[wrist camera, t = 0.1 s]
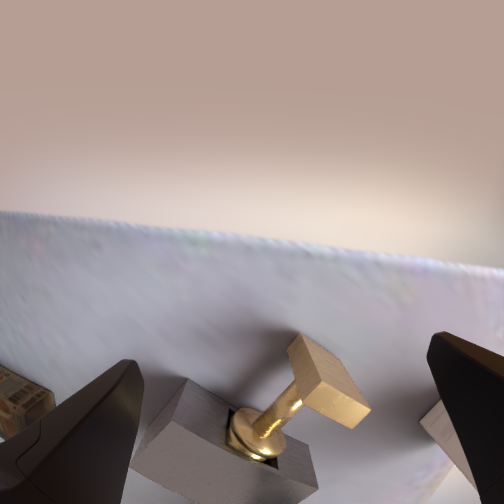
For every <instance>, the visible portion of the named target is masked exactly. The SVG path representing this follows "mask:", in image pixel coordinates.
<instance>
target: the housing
mask: <svg viewBox="0 0 504 504" xmlns="http://www.w3.org/2000/svg"><path fill="white" fill-rule="evenodd" d="M237 411H238V409H237V408H235V407H233V406H231V405H230V404H228V403H226V402H225V401H223V400H221V399H220V398H218V397H217V396H215V395H213V394H212V393H210V392H208V391H207V390H205V389H204V388H202V387H201V386H199V385H198V384H196V383H194V382H193V381H191V380H190V379H188V380H187V381H186V382H185V383H184V384H183V386H182V387H181V388H180V389H179V390H178V392H177V393H176V394H175V395H174V396H173V398H172V399H171V400H170V401H169V402H168V404H167V405H166V406H165V407H164V408H163V410H162V411H161V412H160V413H159V414H158V416H157V417H156V418H155V419H154V420H153V422H152V423H151V424H150V425H149V426H148V428H147V430H146V432H145V434H144V436H143V438H142V440H141V442H140V444H139V446H138V448H137V451H136V453H135V455H134V457H133V459H132V461H131V463H130V465H129V467H130V468H131V469H133V470H135V471H136V472H138V473H140V474H142V475H143V476H145V477H147V478H149V479H150V480H152V481H154V482H156V483H158V484H160V485H162V486H163V487H165V488H167V489H169V490H171V491H173V492H175V493H177V494H180V495H182V496H184V497H186V498H188V499H190V500H193V501H195V502H197V503H199V504H298V503H299V502H301V501H302V500H304V499H305V498H307V497H308V496H310V495H311V494H312V493H314V492H315V491H317V490H318V489H319V488H318V484H317V480H316V475H315V471H314V467H313V463H312V459H311V455H310V451H309V447H308V445H306V444H304V443H302V442H300V441H298V440H296V439H293V438H291V437H289V436H287V435H285V434H284V436H285V439H286V448H285V450H284V451H283V452H281V453H280V454H279V455H278V456H277V457H275V458H267V459H266V460H265V461H263V462H262V463H261V462H259V461H257V460H255V459H252V458H250V457H248V456H246V455H244V454H242V453H240V452H238V451H236V450H234V449H232V448H230V447H228V446H226V445H224V443H225V435H226V428H228V427H229V426H230V420H231V418H232V416H233V415H234V414H235V413H236V412H237Z"/></svg>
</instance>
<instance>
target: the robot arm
mask: <svg viewBox="0 0 504 504" xmlns="http://www.w3.org/2000/svg"><path fill="white" fill-rule="evenodd" d="M427 362H428V365H429V367H430V370H431V373H432V375H433V378H434V381H435V384H436V387H437V389H438V392H439V395H440V398H441V400H442V402H443V405H444V407H445V409H446V411H447V413H448V416H449V418H450V420H451V422H452V425H453V427H454V429H455V432H456V434H457V436H458V439H459V441H460V444H461V446H462V449H463V451H464V454H465V456H466V459H467V462H468V464H469V467H470V470H471V473H472V475H473V478H474V481H475V484H476V487H477V490H478V493H479V496H480V500H481V503H482V504H504V357H503V356H501V355H499V354H496V353H494V352H492V351H489V350H487V349H485V348H483V347H480V346H478V345H476V344H473V343H471V342H469V341H466V340H464V339H462V338H459V337H457V336H455V335H453V334H450V333H448V332H445V331H442V332H438V333H435V334H434V335H433V336H432V338H431V342H430V345H429V349H428V352H427ZM143 392H144V380H143V377H142V374H141V372H140V369H139V366H138V364H137V362H136V361H135V360H128V359H123V360H121V361H120V362H118V363H117V364H115V365H114V366H113V367H111V368H110V369H108V370H107V371H106V372H104V373H103V374H102V375H100V376H99V377H97V378H96V379H95V380H93V381H92V382H90V383H89V384H88V385H86V386H85V387H83V388H82V389H81V390H79V391H78V392H76V393H75V394H74V395H72V396H71V397H69V398H68V399H67V400H65V401H64V402H62V403H61V404H60V405H58V406H57V407H55V408H54V409H53V410H51V411H50V412H48V413H47V414H45V415H44V416H43V417H41V419H38V420H37V421H35V422H34V423H33V424H31V425H30V426H28V427H27V428H25V429H24V430H22V431H21V432H19V433H17V434H16V435H14V436H12V437H11V438H9V439H7V440H5V441H4V442H2V443H0V504H120V503H121V498H122V494H123V489H124V484H125V480H126V476H127V471H128V467H129V463H130V459H131V455H132V451H133V447H134V443H135V439H136V435H137V431H138V425H139V419H140V412H141V405H142V398H143Z"/></svg>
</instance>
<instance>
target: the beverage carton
mask: <svg viewBox="0 0 504 504" xmlns="http://www.w3.org/2000/svg"><path fill="white" fill-rule="evenodd" d="M55 407H56V405H55V399H54V394H53V393H52V392H50V391H48V390H46V389H44V388H42V387H40V386H38V385H36V384H34V383H32V382H30V381H28V380H26V379H24V378H22V377H20V376H18V375H16V374H15V373H13V372H11V371H9V370H8V369H6V368H4V367H2V366H1V365H0V437H1V438H3V439H4V440H7V439H9V438H11V437H12V436H14V435H16V434H17V433H19V432H21V431H22V430H24V429H25V428H27V427H28V426H30V425H31V424H33V423H34V422H35V421H37V420H38V419H41V417H43V416H44V415H45V414H47V413H48V412H50V411H51V410H53V409H54V408H55Z"/></svg>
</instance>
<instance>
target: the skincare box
mask: <svg viewBox="0 0 504 504" xmlns="http://www.w3.org/2000/svg"><path fill="white" fill-rule="evenodd" d="M419 423H420V424H421V425H422V426H423V427H424V429H425V430H426V431H427V432H428V433H429V434H430V436H431V437H432V438H433V439H434V440H435V441H436V443H437V444H438V445H439V446H440V447H441V448H442V449H443V451H444V452H445V453H446V454H447V455H448V457H449V458H450V459H451V460H452V461H453V463H454V464H455V465H456V466H457V467H458V468H459V470H460V471H461V472H462V473H463V474H464V475H465V477H466V478H467V479H468V480H469V482H470V483H471V484H472V485H473V487H474V488H475V489H476V490H477V487H476V484H475V481H474V478H473V475H472V473H471V470H470V467H469V464H468V462H467V459H466V456H465V454H464V451H463V449H462V446H461V444H460V441H459V439H458V436H457V434H456V432H455V429H454V427H453V425H452V422H451V420H450V418H449V416H448V413H447V411H446V409H445V407H444V405H443V402H442V400H440V401H439V402H438V403H437V404H436V405H435V406H434V407H433V408H432V409H431V410H430V411H429V412H428V413H427V414H426V415H425V416H424V417H423V418H422V419H421V420H420V422H419ZM477 491H478V490H477Z"/></svg>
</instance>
